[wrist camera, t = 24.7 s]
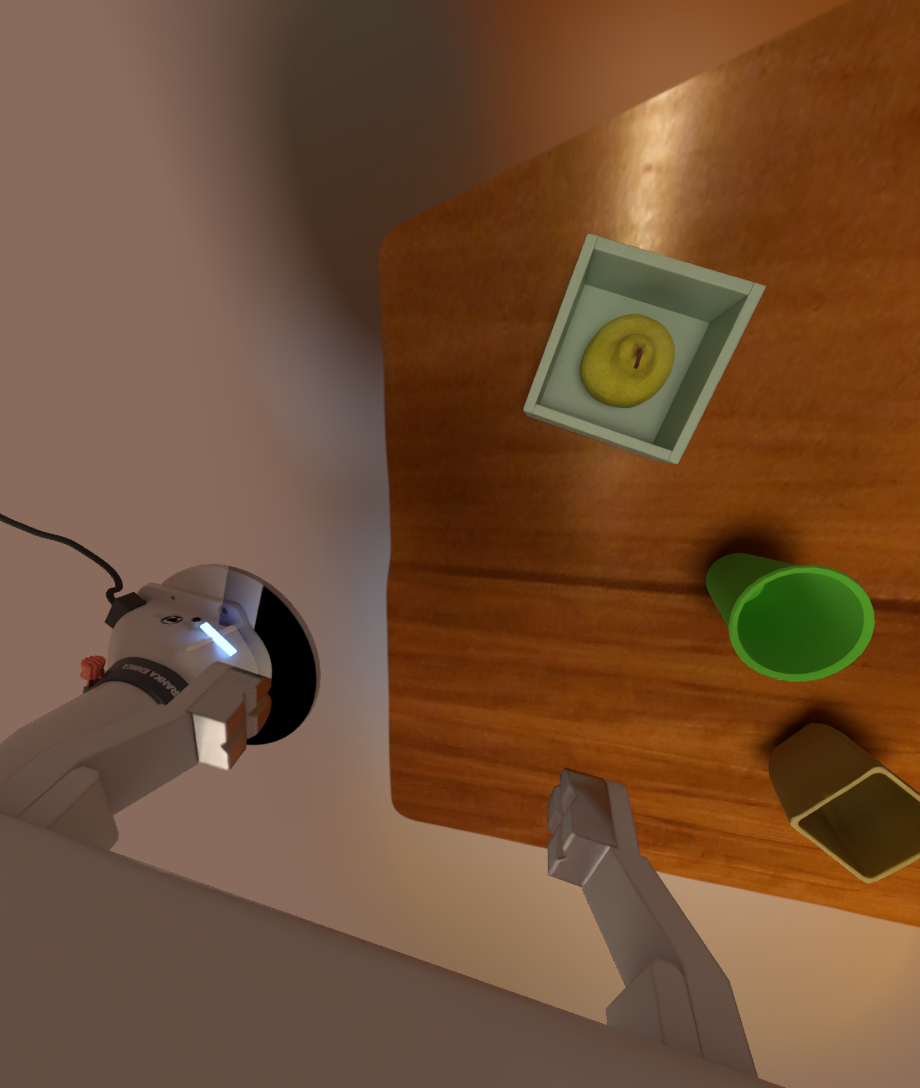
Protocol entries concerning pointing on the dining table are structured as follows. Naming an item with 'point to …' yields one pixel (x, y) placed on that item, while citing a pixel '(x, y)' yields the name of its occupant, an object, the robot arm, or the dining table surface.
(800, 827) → the flower pot
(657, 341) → the fruit
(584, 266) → the bin
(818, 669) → the cup
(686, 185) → the dining table surface
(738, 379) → the dining table surface
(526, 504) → the dining table surface
